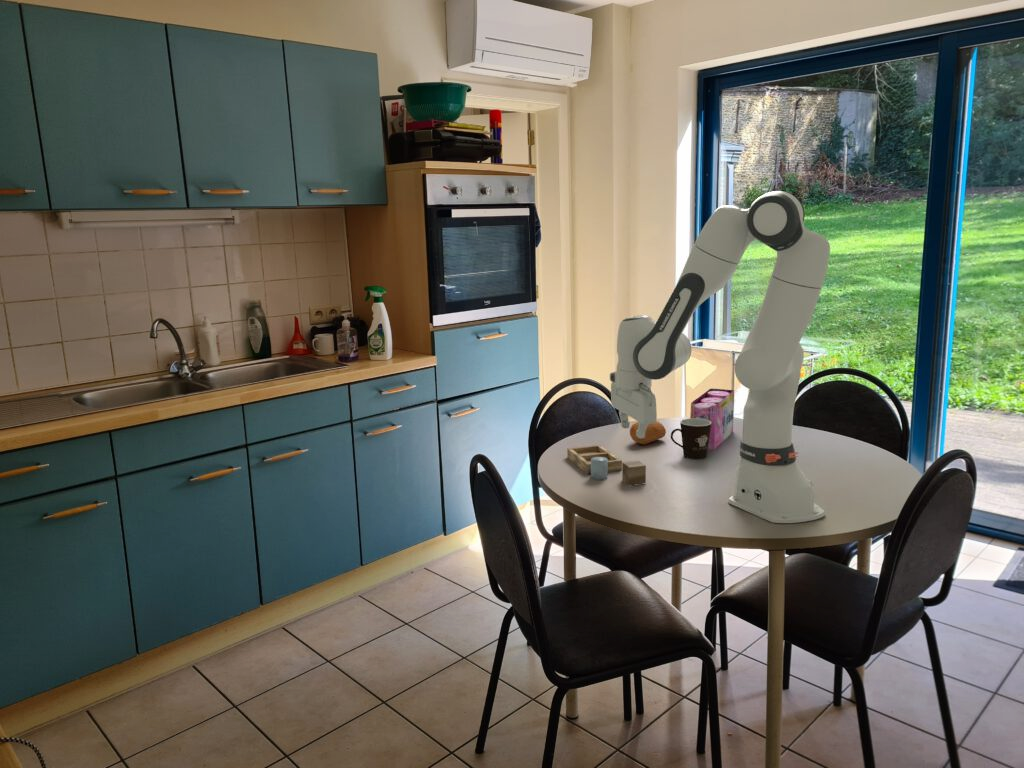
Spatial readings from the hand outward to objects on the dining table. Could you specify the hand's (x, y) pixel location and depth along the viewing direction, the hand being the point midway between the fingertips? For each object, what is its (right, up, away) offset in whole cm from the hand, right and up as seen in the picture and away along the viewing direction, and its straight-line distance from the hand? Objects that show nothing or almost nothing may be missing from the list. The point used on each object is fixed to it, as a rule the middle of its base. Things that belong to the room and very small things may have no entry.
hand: (632, 432), depth 197 cm
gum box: (+30, -5, +39) cm, 50 cm away
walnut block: (+1, -13, +3) cm, 13 cm away
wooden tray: (-8, -10, +19) cm, 22 cm away
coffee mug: (+20, -8, +23) cm, 31 cm away
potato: (+10, -6, +38) cm, 39 cm away
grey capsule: (-8, -12, +7) cm, 16 cm away
